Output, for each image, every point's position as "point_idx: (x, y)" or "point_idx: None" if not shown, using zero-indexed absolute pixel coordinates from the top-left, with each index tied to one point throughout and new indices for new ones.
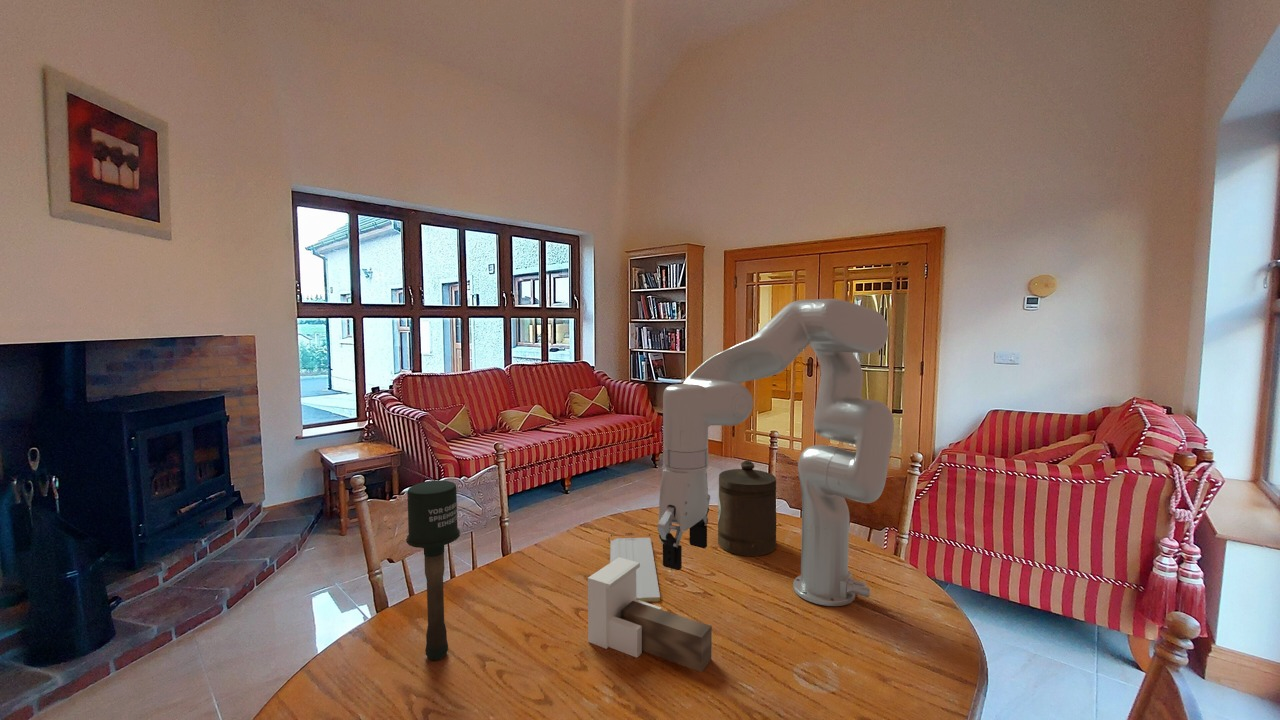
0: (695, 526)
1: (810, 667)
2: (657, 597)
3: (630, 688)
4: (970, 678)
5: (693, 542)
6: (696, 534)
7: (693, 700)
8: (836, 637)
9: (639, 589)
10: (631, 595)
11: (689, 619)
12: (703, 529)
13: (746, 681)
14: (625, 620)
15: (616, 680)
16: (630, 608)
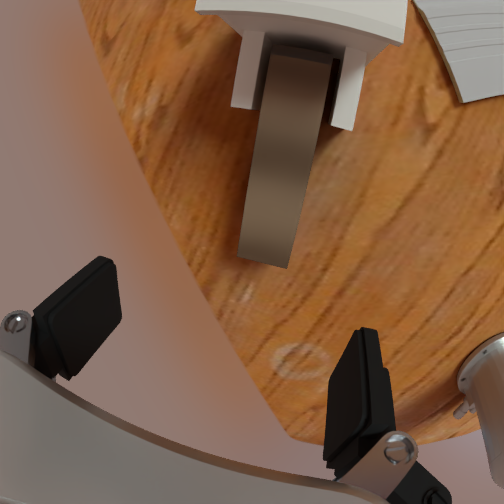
0: (343, 436)
1: (317, 359)
2: (461, 96)
3: (169, 132)
4: None
5: (350, 353)
6: (342, 401)
7: (186, 229)
8: None
9: (475, 54)
10: (354, 45)
11: (296, 219)
12: (324, 450)
13: (257, 292)
14: (258, 65)
15: (176, 103)
16: (292, 61)
